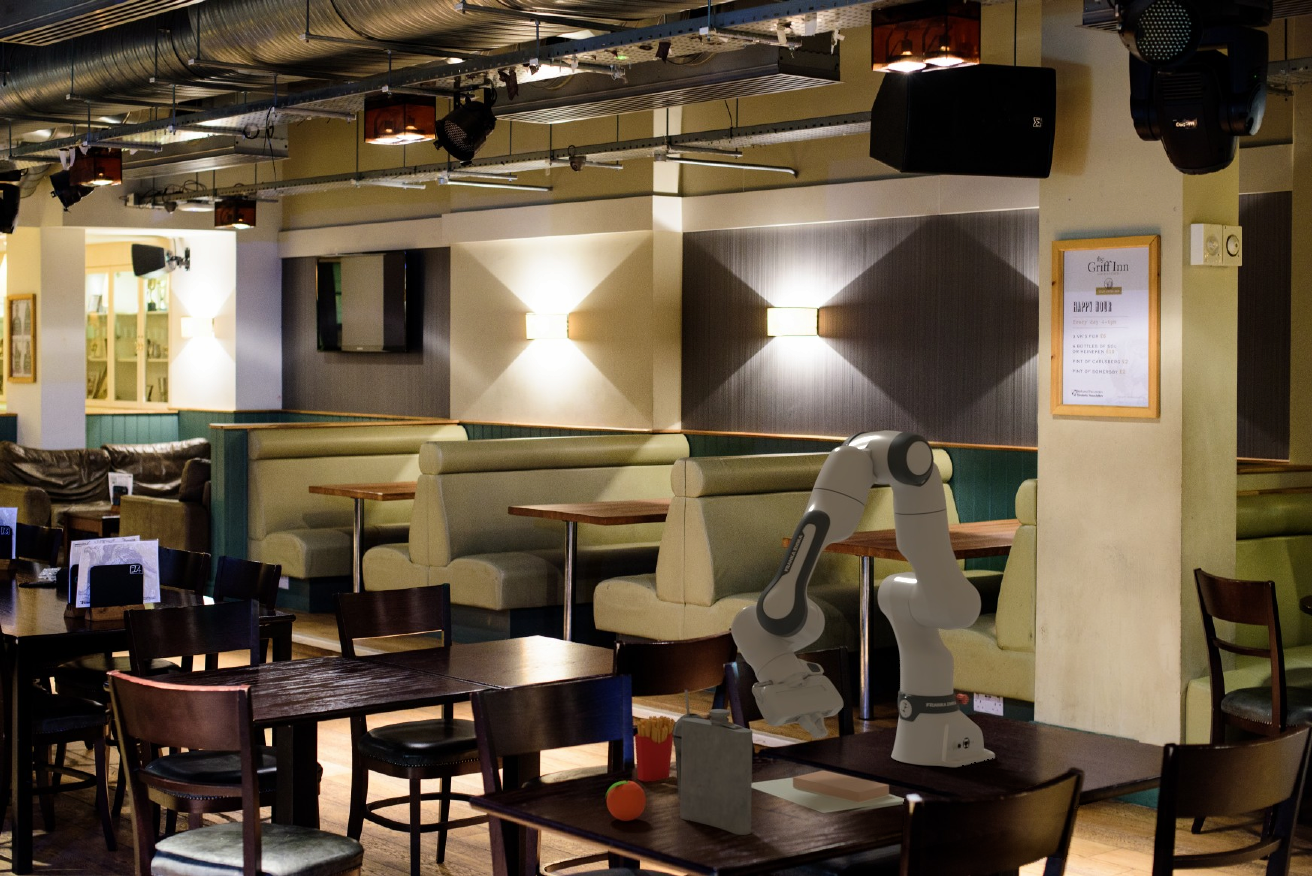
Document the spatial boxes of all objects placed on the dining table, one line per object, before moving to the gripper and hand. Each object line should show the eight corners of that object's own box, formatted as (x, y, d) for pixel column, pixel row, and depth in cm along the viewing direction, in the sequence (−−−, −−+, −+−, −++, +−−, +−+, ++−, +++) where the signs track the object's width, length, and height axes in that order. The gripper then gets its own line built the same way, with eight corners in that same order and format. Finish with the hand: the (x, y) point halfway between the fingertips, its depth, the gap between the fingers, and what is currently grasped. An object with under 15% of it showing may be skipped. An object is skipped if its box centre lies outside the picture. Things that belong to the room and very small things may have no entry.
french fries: (642, 782, 298) (643, 721, 298) (631, 778, 302) (632, 717, 302) (677, 777, 303) (678, 716, 303) (665, 773, 307) (666, 713, 306)
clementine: (615, 828, 264) (616, 787, 264) (593, 819, 270) (594, 779, 270) (653, 821, 269) (654, 781, 269) (630, 813, 275) (631, 773, 275)
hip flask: (676, 817, 272) (678, 704, 272) (693, 813, 275) (694, 702, 275) (741, 835, 261) (743, 718, 261) (758, 831, 264) (760, 715, 264)
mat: (824, 776, 307) (824, 773, 307) (908, 803, 285) (908, 799, 285) (742, 787, 296) (742, 784, 296) (823, 816, 275) (823, 812, 275)
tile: (792, 777, 294) (859, 792, 282) (823, 770, 300) (889, 784, 289) (792, 787, 294) (858, 803, 282) (823, 780, 300) (888, 795, 289)
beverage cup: (706, 802, 284) (708, 694, 283) (667, 799, 285) (669, 692, 285) (712, 793, 291) (714, 687, 291) (675, 790, 292) (676, 686, 292)
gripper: (757, 674, 293) (795, 733, 286) (825, 663, 307) (863, 719, 300) (739, 694, 296) (776, 753, 289) (808, 683, 310) (845, 739, 303)
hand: (821, 736), depth 295 cm, fingers closed
